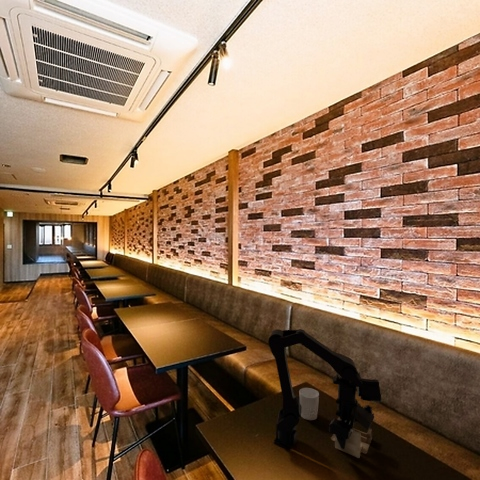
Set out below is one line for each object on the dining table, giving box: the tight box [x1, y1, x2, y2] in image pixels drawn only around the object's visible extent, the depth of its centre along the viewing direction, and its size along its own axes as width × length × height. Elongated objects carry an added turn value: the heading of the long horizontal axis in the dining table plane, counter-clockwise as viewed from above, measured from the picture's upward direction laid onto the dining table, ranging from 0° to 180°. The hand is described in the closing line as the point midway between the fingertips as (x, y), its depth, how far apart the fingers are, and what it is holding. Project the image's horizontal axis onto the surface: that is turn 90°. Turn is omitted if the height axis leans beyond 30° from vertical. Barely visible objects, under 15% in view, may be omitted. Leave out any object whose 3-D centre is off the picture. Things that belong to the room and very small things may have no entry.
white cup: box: [298, 387, 320, 421], centre depth 118 cm, size 8×8×10 cm
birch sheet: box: [334, 429, 361, 459], centre depth 97 cm, size 8×2×8 cm, turn 54°
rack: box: [330, 416, 373, 455], centre depth 104 cm, size 12×10×4 cm
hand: (345, 442), depth 98 cm, fingers open, 7 cm apart
